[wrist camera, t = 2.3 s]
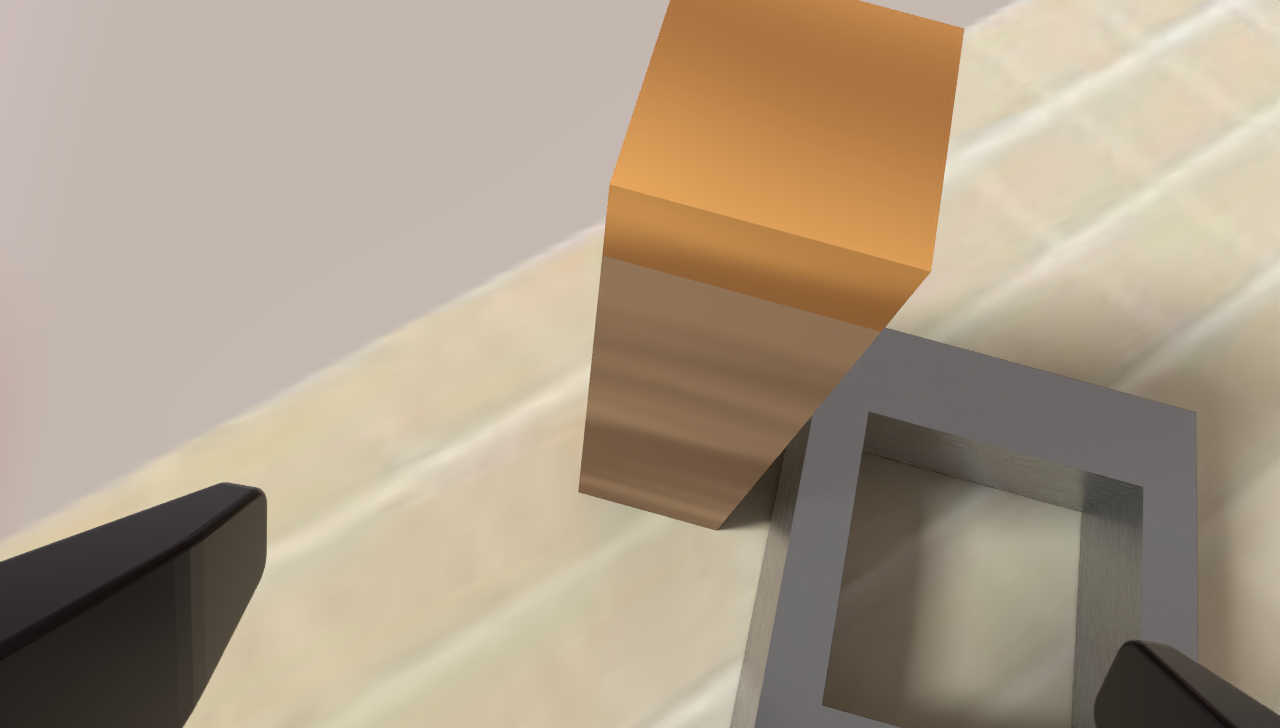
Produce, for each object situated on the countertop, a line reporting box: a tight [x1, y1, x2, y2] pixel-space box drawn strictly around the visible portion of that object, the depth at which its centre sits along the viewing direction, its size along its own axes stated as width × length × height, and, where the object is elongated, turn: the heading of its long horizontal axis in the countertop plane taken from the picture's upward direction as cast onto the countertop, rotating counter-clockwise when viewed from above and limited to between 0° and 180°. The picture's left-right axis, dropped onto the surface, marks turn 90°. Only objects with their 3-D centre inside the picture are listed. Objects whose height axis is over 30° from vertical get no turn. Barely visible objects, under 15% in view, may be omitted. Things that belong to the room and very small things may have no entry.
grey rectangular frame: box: [730, 328, 1198, 728], centre depth 20 cm, size 11×9×2 cm
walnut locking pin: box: [579, 0, 964, 530], centre depth 16 cm, size 4×4×13 cm
